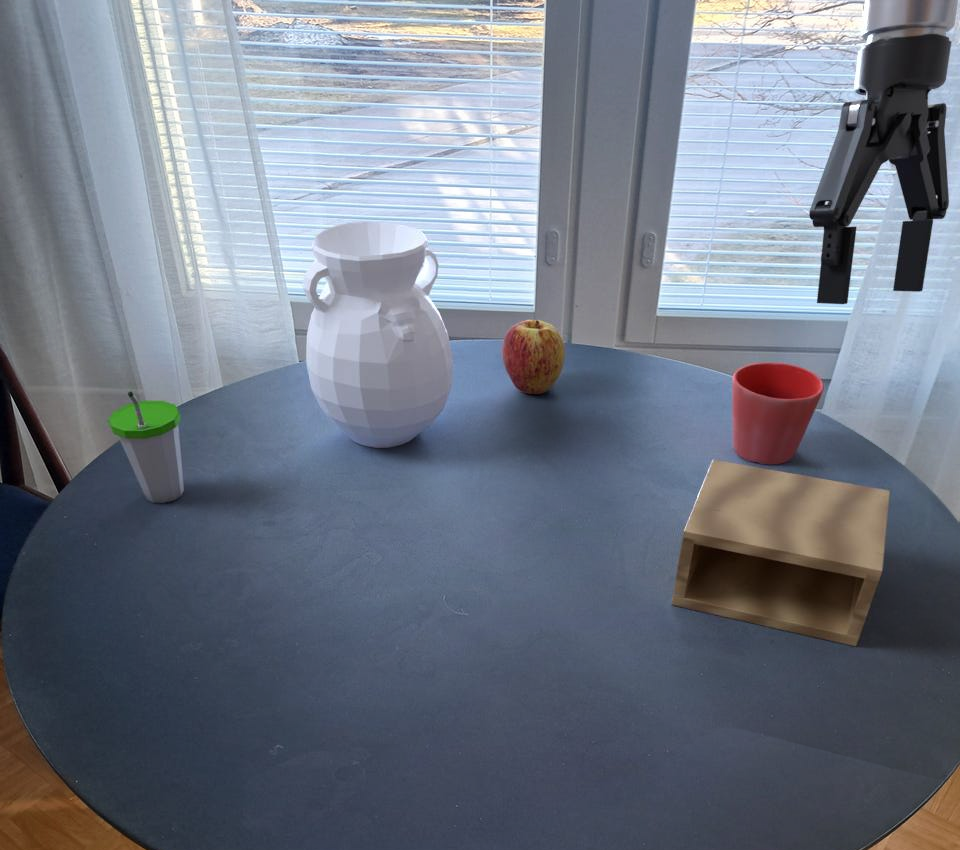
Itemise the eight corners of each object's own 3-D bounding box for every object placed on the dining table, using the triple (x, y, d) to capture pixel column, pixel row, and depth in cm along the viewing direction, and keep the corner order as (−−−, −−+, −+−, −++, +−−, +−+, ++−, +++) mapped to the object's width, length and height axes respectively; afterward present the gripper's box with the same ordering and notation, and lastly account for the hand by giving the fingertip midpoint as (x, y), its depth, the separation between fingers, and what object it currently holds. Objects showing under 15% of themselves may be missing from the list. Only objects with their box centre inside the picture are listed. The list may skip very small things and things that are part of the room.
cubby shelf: (866, 563, 97) (890, 490, 92) (856, 646, 87) (882, 570, 81) (700, 529, 103) (712, 459, 97) (671, 605, 92) (683, 531, 86)
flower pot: (752, 478, 111) (768, 405, 105) (705, 439, 119) (717, 369, 113) (823, 462, 114) (843, 390, 108) (772, 425, 122) (787, 356, 116)
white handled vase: (350, 480, 111) (327, 273, 95) (295, 421, 124) (266, 229, 108) (480, 443, 119) (479, 244, 103) (415, 391, 131) (406, 206, 115)
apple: (495, 379, 134) (495, 312, 127) (553, 373, 136) (556, 306, 129) (511, 405, 127) (512, 335, 121) (572, 398, 129) (576, 329, 122)
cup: (156, 473, 113) (125, 357, 103) (210, 483, 111) (183, 367, 101) (117, 504, 107) (81, 385, 98) (173, 515, 105) (141, 395, 96)
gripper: (934, 54, 89) (901, 285, 98) (783, 36, 75) (761, 307, 84) (1014, 41, 83) (971, 287, 92) (867, 19, 69) (833, 311, 79)
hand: (871, 297), depth 88 cm, fingers open, 13 cm apart
